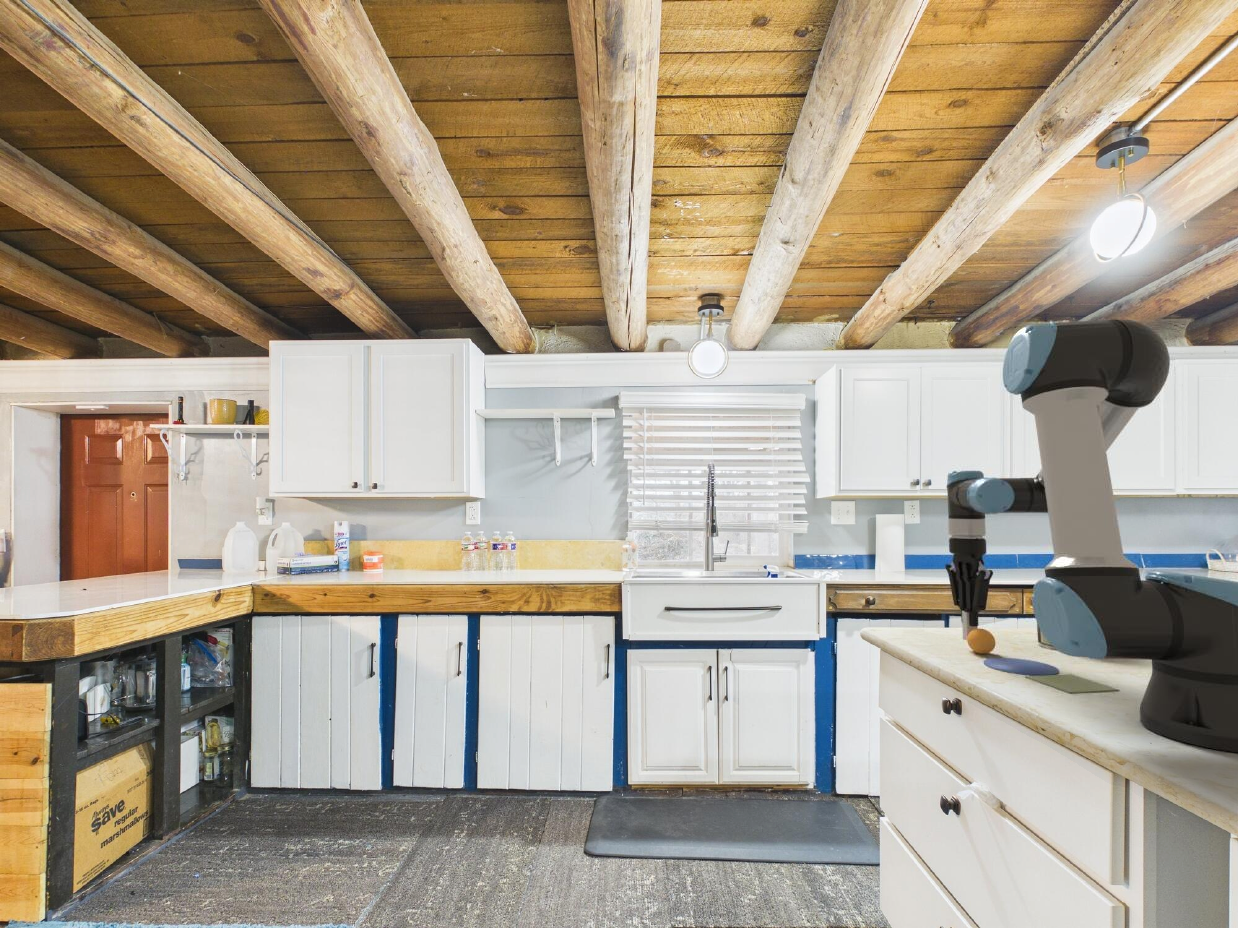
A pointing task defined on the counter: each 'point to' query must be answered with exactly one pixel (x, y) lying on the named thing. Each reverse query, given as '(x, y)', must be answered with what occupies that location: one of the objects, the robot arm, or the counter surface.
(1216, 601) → the robot arm
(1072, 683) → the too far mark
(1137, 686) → the counter surface
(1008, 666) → the disc
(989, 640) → the ball
